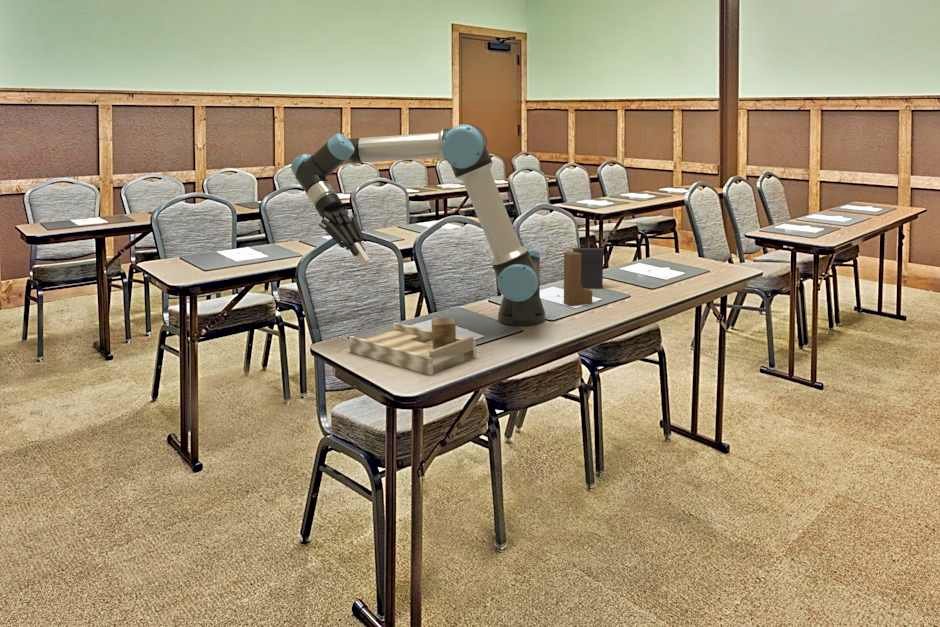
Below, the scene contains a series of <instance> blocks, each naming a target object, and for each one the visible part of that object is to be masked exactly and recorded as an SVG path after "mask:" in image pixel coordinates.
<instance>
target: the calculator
mask: <svg viewBox="0 0 940 627" xmlns="http://www.w3.org/2000/svg"><path fill="white" fill-rule="evenodd" d="M574 251H575V252H578V253H581V285H582V287H583V288H587V289H589V290H592V289H593V290H594V289H595V290H596V289H603V280H604V278H603V277H604V276H603V275H604V274H603V273H604V249H603V248H602V247H574V248H572V252H574Z"/></svg>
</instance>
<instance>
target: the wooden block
mask: <svg viewBox="0 0 940 627" xmlns="http://www.w3.org/2000/svg"><path fill="white" fill-rule="evenodd" d="M563 303H564V304H565V305H567V306H569V307H572V306H580V305H588V304H593V290H592V289H587V288H583V287H582V285H581V253H578V252H575V251H574V252H573V251H564V254H563Z"/></svg>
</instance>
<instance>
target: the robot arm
mask: <svg viewBox="0 0 940 627" xmlns="http://www.w3.org/2000/svg"><path fill="white" fill-rule="evenodd" d="M491 157H492V156H491V155H490V152H489V149H488V139H487V136H486V135H485V132H484V130H482V128H480V127H479V126H478V125H475V124H470V123H466V124H458V125H455V126H453V127H451V128H448V127H447V128H441V130H440V131H439V132H429V133H415V134H414V133H413V134H411V133H410V134H399V135H386V136H384V135H383V136H372V137H371V136H370V137H360V138H358V137H354V138H347V137H346V136H345V135H344V134H342V133H340V132H339V133H336V134H334V135H333V136H332V137H330V138H329V139H328V141H327V142H325V143H324V144H323V145H322V146H321V147H320V148H319V149H318V150H317V151H316V152H314V154H312V155H311V154H310V153H304V154H301V155H299V156H297V157H295V158H294V159H293V161H292V163H291V166H290V169H291V171H292V173H293V175H294V176H295V179H296V180H297V182H298V184H299V185H300V186H301V188H302V189H303V191H304V192H305V194H306V196H307V198H308V199H309V200H310V202H311V203H312V206H314V208H315V210H316V212H317V213H318V214H319V216H320V217H321V218H322V219H321V220H320V222H319V223H318V224H319V225H318V226H319V227H320V228H322V229H323V230H325V231H326V233H328V235H329V236H330V237H331V238H332V239H333V241H335V242H336V243H337V244H338V246H339V247H341V248H343V249H344V248H345V250H347V251H350V252H351V254H352V256H354V257H356V259H357V261H358V262H359V264H360V265H361V267H364V266H367V264H368V263H369V262H370V259H371V258H369V256H368V255H367V253H366V249H365V247H364V246H363V245H362V242H363V241H364V240H365V237H364V234H363V232H362V229H361V227H360V224H359V222H358V220H357V218H358V216H357V213H355V212H353V213H348V211H347V209H345V208H344V205H343V201H342V200H341V198H340V197H339V195H338V194H337V193H336V191H335V189H334V188H333V186H331V183H330V182H329V180H328V179H327V178H328V177H329V176H330V175H331V174H332V173H333V172H335V170H337V169H338V168H339V167H340V166H343V165H348V164H360V163H376V162H377V163H378V162H394V161H408V160H409V161H411V160H422V159H423V160H424V159H425V160H426V159H442V160H443V161H444V162H447V163H448V164H449V165H450V167H451V170H452V172H453V175H454V177H455V179H456V180H459V181H461V182H462V183H463V185H464V188H465V190H466V193H467V195H468V197H469V200H470V202H471V205H472V207H473V209H474V212H475V214H476V217H477V220H478V222H479V224H480V227H481V229H482V231H483V233H484V236H485V239H486V241H487V244H488V245H489V249H490V250H491V253H492V255H493V258H492V261H491V262H490V264H491V267H492V269H493V272H494V274H495V277H496V279H497V288H498V291H499V292H500V293H501V295H502V300H501V302H500V306H499V309H498V312H497V321H498V322H500V324H501V323H502V324H504V325H509V326H517V327H518V326H519V327H523V326H524V327H525V326H526V327H527V326H535V325H539V324H542V323H543V322H545V321H546V311H545V309H544V306H543V303H542V300H541V296H540V295H541V294H540V289H541V287H540V285H541V284H540V279H541V278H540V276H541V275H540V273H541V271H540V269H541V268H540V263H541V262H540V261H541V256H540V252H539V250H538V249H534V248H533V249H532V248H531V249H530V248H526V247H524V246H522V245H521V243H520V241H519V238H518V235H517V233H516V231H515V228H514V225H513V224H512V221H511V219H510V216H509V214H508V211H507V208H506V206H505V203H504V201H503V199H502V197H501V194H500V192H499V188H498V187H497V183H496V181H495V179H494V176H493V174H492V172H491V168H492V165H493V163H494V162H493V160H492V158H491Z"/></svg>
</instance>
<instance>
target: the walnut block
mask: <svg viewBox="0 0 940 627" xmlns="http://www.w3.org/2000/svg"><path fill="white" fill-rule="evenodd" d="M456 330H457V329H456V322H455V319H454V317H445V318H444V317H443V318H431V331H432V342H433V350H434V349H437V348H440V347H442V346H445V345H448V344H451V343H454V342H456V337H457V332H456Z"/></svg>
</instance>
